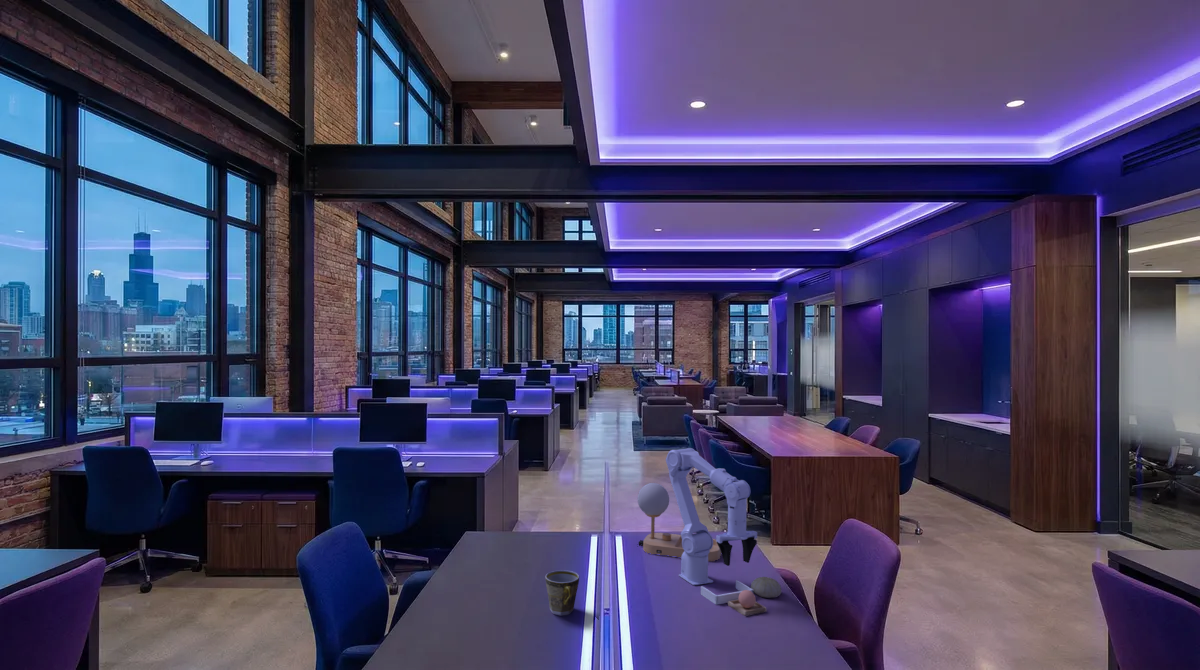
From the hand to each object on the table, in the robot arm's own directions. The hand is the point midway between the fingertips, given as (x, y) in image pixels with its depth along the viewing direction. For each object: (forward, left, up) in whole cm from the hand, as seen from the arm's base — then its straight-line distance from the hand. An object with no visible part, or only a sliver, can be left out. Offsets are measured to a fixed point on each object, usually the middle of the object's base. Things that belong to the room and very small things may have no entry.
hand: (736, 563), depth 185 cm
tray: (+9, -3, -10) cm, 14 cm away
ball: (+9, -3, -10) cm, 13 cm away
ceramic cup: (-9, -55, -11) cm, 57 cm away
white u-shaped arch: (-1, -3, -10) cm, 11 cm away
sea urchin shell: (+2, +11, -11) cm, 15 cm away
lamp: (-45, +6, -11) cm, 47 cm away
